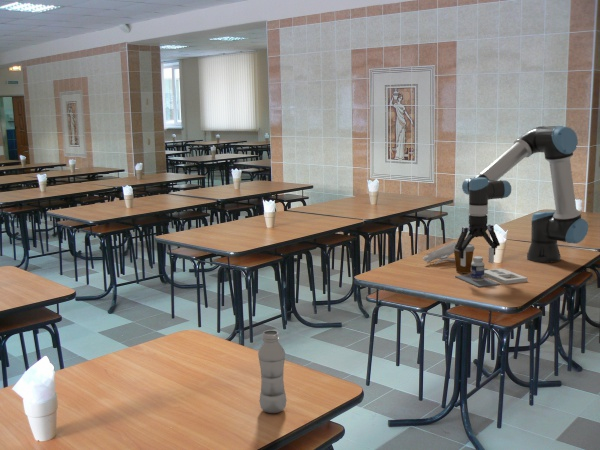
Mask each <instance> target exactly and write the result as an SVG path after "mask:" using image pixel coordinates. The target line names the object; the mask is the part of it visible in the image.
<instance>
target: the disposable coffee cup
mask: <svg viewBox="0 0 600 450" xmlns="http://www.w3.org/2000/svg"><path fill="white" fill-rule="evenodd" d="M455 246H456V244H454V247H453V249H454V253H453V254H454V259H455V262H454V263H455V270H456V273H462V274H463V273H465V274H466V273H471V263H472V262H473V257H474V251H475V248H476V247H475V246H474V244H472V243H469V244H468V246H467V247H466V249H465V250H464V251H466V266H465V267H464V266H461V258H459V250H457V249H455Z"/></svg>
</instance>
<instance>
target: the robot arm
mask: <svg viewBox="0 0 600 450" xmlns="http://www.w3.org/2000/svg"><path fill="white" fill-rule="evenodd" d="M578 141H579V140H578V136H577V133H576V132H575V130H574V129H572V128H571V127H570V126H563V125H557V126H556V125H555V126H550V125H549V126H544V125H542V126H537V127H534V128H532V129H530V130H527V131H526V132H525V133H524V134H523V133H522V135H521V136H519V137H518V138H516V140H514V142H513V144H512V145H511V147H509V148H508V149H507V150H505V151H504V153H503V152H502V154H501V155H500V156H498V157H497V158H495V160H494V161H492V162H491V163H490V164H489V165H488V166H486V167H485V168H483V170H482V171H480V172H479V173H478V174H477V175H475V176H474V177H468V178H465V179H464V180H463V182H462V184H461V189H462V191H463V193H464V194H466V195H468V196H469V197H468V214H469V215H468V227H465V226H462V227H461V233H460V235H459V237H458V239H457V241H456V242H457V244H456V246H455V249H457V250H459V258H461V266H464V267H465V266H466V251H464V250H465V249H466V247H467V246H468V244H471V242H472V240H473V239H474V238H479V237H480V238H483V239H484V240H485V241H486V242H487V244H488V245H489V247H488V260H487V261H488V263H489V264H493V265H494V264H495V262H494V260H495V256H496V249H497V248H498V247H500V241H499V240H498V237H497V234H496V232H495V229H494V228H495V227H494V225H492V224H488V214H489V213H488V212H489V211H488V210H489V208H488V204H489V200H497V199H504V198H509V196H510V195H511V193H512V186H511V183H510V182H509V181H508V180H502V179H501V178H503V176H505V174H507V173H508V172H510V171H511V170H512V169H513V168H514V167H516V166H517V165H518V164H519V163H520V162H521V161H522V160H524V159H525V158H529V157H531V156H533V155H534V154H536V153H544V159H545V160H546V161H547V162H548V163H549V169H550V176H551V183H552V184H551V186H552V191H553V197H554V205H555V211H554V210H553V211H552V210H550V211H548V210H547V211H539V212H534V213H533V214H532V216H531V233H530V234H531V237H530V238H531V239H530V245H529V247H528V251H527V253H526V259H527V260H528V261H531V262H535V263H536V262H537V263H557V262H560V261H561V259H562V257H561V253H560V249H559V246H558V241H559V242H563V243H567V244H574V245H575V244H579V243H581V242H582V241H583V240H584V239H586V236H587V234H588V232H589V223H588V221H587V220H586V219H584V218H582V214H581V211H580V210H578V209H577V204H576V197H575V188H574V180H573V179H574V178H573V172H572V164H571V158H572V157H573V155H574V152H575V151H576V149H577V146H578V144H579V142H578ZM499 179H500V180H499ZM487 231H488V233H487Z"/></svg>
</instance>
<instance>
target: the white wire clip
mask: <svg viewBox="0 0 600 450" xmlns="http://www.w3.org/2000/svg"><path fill="white" fill-rule="evenodd" d="M457 242H458V241H456V242H455V241H451V242H449V243H448V244H446V245H443V246H441V247H438V248H437V249H434V250H433V251H431V252H429V253H427V254H426V255H424V256H423V257H422V260H423V261H424V262H426V263H429V264H430V262H432V261H435V260H437V261H435V262H434V265H435V266H436V265H437V264H439V263H441V262H453V263H455V258H449V257H450V256H452V255H453V254H454V249H453V247H454V244H457ZM438 259H439V260H438Z"/></svg>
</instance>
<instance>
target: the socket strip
mask: <svg viewBox="0 0 600 450" xmlns="http://www.w3.org/2000/svg"><path fill="white" fill-rule="evenodd" d="M484 277H485V278H487V279H490V280H492V281H495V282H497V283H501V284H504V285H508V284H509V285H510V284H511V285H512V284H518V283H519V284H520V283H526V282H528V277H526V276H524V275H522V274H518V273H515V272H513V271H511V270H508V269H504V268H494V269H493V268H492V269H488V268H486V267H484Z"/></svg>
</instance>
